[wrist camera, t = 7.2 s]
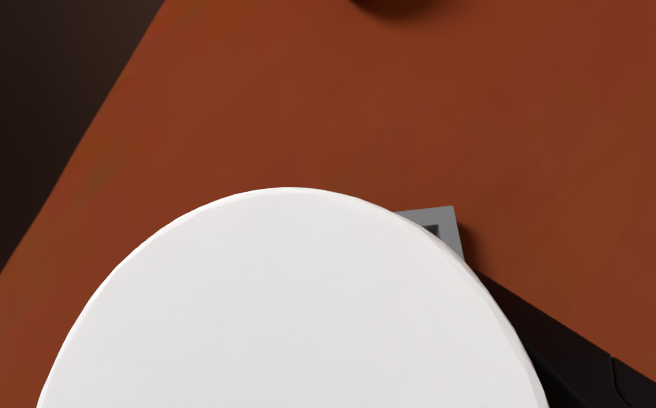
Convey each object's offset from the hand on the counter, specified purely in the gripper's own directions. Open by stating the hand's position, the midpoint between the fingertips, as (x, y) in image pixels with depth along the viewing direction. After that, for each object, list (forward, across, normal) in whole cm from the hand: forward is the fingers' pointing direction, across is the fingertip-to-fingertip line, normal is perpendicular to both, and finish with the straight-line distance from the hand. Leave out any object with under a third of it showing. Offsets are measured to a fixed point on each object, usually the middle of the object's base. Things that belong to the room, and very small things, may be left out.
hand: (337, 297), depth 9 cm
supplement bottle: (+4, 0, +6) cm, 7 cm away
